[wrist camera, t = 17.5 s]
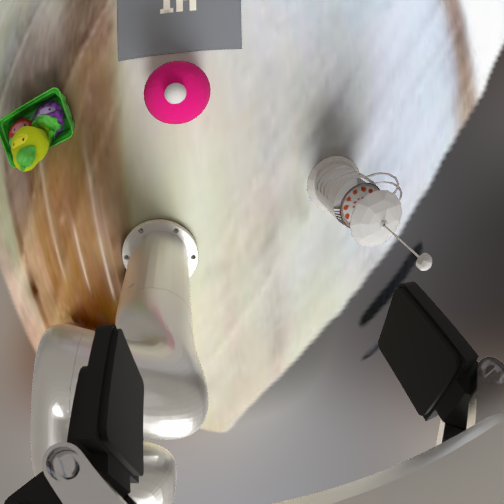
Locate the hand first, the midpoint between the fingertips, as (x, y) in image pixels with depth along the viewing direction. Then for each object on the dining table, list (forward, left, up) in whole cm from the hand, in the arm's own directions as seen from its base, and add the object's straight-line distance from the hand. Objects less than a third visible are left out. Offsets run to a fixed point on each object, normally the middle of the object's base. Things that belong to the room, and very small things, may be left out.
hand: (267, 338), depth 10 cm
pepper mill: (+4, +7, -38) cm, 39 cm away
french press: (+6, -22, -38) cm, 45 cm away
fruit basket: (-10, +22, -39) cm, 46 cm away
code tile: (+15, +15, -38) cm, 44 cm away
